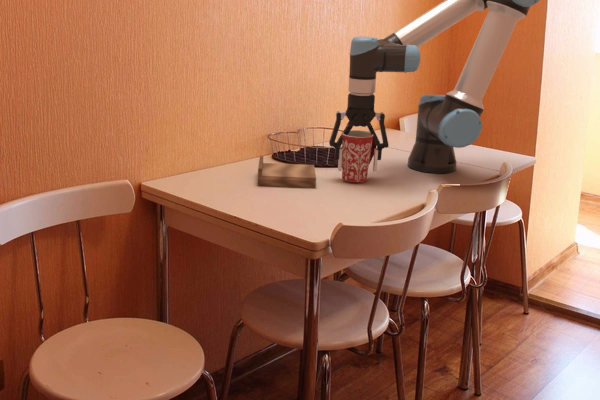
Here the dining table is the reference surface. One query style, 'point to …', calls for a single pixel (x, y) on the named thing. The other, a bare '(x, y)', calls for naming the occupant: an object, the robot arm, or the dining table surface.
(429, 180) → the dining table surface
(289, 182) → the dock
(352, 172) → the mug
